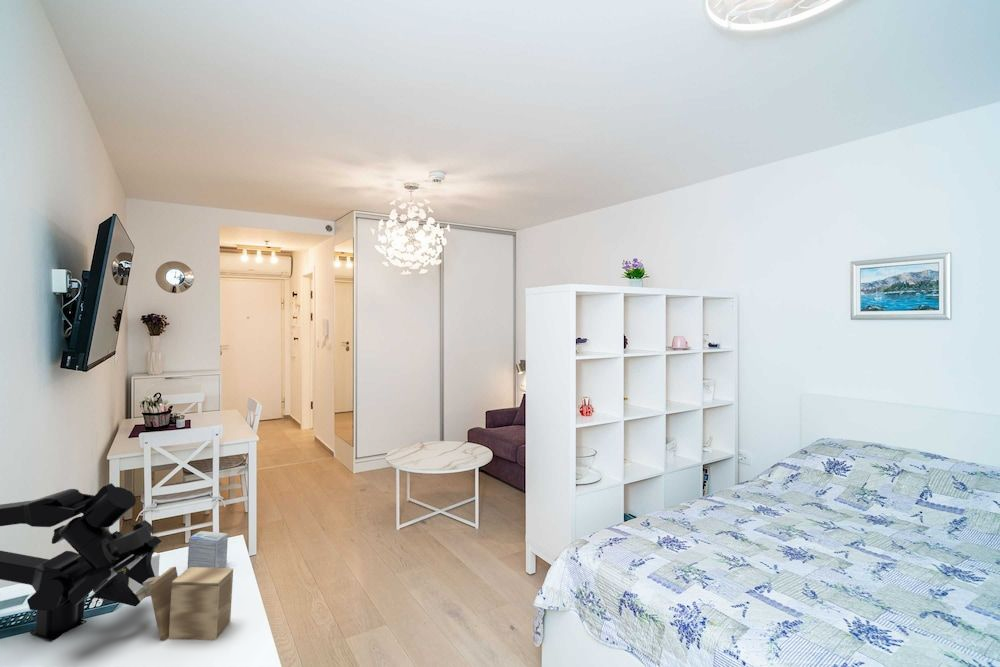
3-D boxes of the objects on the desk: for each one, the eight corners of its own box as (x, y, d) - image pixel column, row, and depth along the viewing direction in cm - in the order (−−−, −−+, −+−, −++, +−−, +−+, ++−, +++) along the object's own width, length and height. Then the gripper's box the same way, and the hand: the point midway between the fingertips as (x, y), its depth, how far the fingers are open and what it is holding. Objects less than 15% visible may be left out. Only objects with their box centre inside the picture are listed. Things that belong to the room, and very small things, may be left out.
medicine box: (227, 565, 127) (228, 533, 127) (215, 574, 123) (217, 540, 123) (199, 562, 128) (200, 530, 128) (186, 571, 123) (188, 537, 123)
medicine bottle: (107, 589, 113) (110, 538, 113) (139, 575, 120) (141, 527, 120) (127, 597, 111) (130, 544, 111) (158, 582, 117) (161, 533, 117)
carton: (168, 641, 96) (171, 581, 96) (186, 623, 102) (189, 567, 102) (214, 643, 97) (218, 583, 97) (230, 624, 103) (233, 568, 103)
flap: (138, 645, 96) (127, 589, 95) (161, 624, 102) (150, 571, 102) (165, 639, 96) (153, 583, 96) (186, 618, 103) (175, 566, 103)
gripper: (87, 533, 89) (146, 594, 90) (154, 498, 108) (203, 549, 109) (41, 575, 89) (100, 635, 90) (116, 533, 108) (165, 583, 108)
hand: (147, 596), depth 99 cm, fingers closed on flap, 5 cm apart
